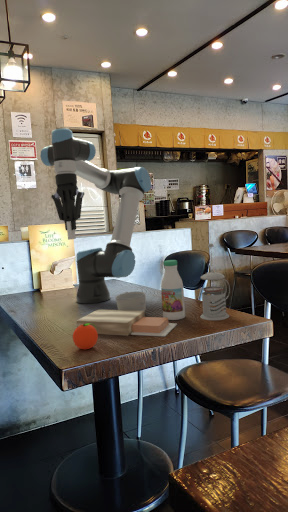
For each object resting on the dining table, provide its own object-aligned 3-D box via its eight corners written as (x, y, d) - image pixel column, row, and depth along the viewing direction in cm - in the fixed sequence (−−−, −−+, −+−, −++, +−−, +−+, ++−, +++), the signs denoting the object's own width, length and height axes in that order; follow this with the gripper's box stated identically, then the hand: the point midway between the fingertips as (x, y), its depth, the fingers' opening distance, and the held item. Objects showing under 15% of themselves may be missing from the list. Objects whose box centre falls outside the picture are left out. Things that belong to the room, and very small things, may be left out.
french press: (194, 316, 128) (189, 244, 126) (219, 310, 134) (216, 241, 132) (213, 322, 120) (208, 245, 117) (239, 315, 126) (235, 241, 123)
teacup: (148, 318, 130) (146, 296, 130) (117, 321, 130) (115, 298, 129) (145, 308, 144) (143, 288, 143) (117, 311, 144) (115, 291, 143)
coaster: (142, 323, 123) (142, 316, 123) (168, 324, 120) (168, 317, 119) (132, 331, 115) (131, 324, 114) (159, 333, 111) (159, 325, 111)
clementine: (89, 341, 109) (87, 318, 109) (106, 345, 105) (104, 320, 105) (68, 350, 103) (66, 325, 102) (86, 354, 99) (83, 328, 98)
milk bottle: (167, 314, 134) (163, 259, 132) (188, 315, 131) (184, 258, 129) (159, 320, 127) (155, 262, 125) (181, 321, 124) (177, 261, 122)
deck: (98, 320, 132) (97, 309, 132) (145, 322, 125) (144, 310, 125) (77, 332, 119) (76, 320, 119) (128, 335, 112) (127, 322, 112)
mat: (145, 323, 124) (145, 322, 124) (177, 324, 120) (176, 323, 120) (131, 334, 113) (130, 333, 113) (165, 336, 109) (164, 335, 109)
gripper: (44, 175, 133) (50, 240, 135) (75, 170, 128) (81, 239, 130) (56, 176, 139) (62, 239, 142) (86, 172, 134) (92, 237, 137)
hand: (71, 239), depth 136 cm, fingers closed
